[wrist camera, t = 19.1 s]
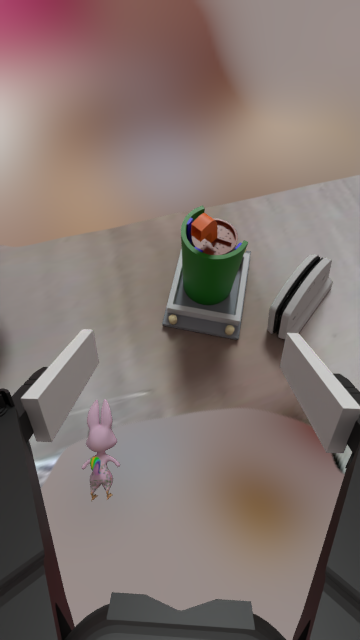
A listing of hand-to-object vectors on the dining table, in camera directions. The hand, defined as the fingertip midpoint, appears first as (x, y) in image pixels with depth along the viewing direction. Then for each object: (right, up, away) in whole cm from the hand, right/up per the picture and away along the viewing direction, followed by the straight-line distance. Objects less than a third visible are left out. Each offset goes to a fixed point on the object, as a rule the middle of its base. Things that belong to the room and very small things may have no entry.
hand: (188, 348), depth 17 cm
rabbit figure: (-14, -20, +25) cm, 35 cm away
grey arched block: (+23, +5, +33) cm, 40 cm away
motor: (+5, +9, +33) cm, 35 cm away
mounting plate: (+5, +9, +34) cm, 36 cm away
